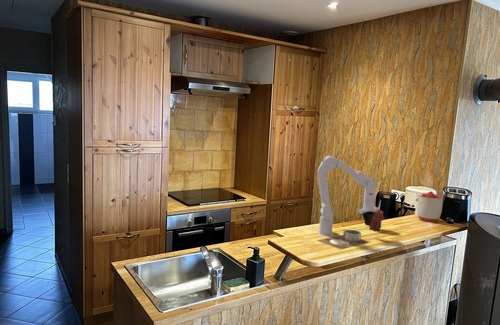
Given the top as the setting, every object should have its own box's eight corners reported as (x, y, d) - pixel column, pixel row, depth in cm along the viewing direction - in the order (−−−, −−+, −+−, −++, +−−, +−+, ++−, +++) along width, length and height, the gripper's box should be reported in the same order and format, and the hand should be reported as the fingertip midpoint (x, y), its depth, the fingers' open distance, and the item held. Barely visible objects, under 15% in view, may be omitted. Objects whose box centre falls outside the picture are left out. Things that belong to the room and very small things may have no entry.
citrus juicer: (419, 215, 265) (422, 188, 263) (445, 221, 252) (448, 192, 249) (409, 218, 255) (411, 189, 253) (434, 224, 242) (437, 194, 240)
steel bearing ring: (350, 236, 205) (351, 228, 204) (364, 240, 197) (364, 233, 197) (339, 238, 199) (340, 231, 199) (353, 243, 192) (353, 235, 192)
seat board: (346, 235, 208) (346, 234, 208) (370, 243, 195) (370, 242, 195) (316, 241, 194) (316, 240, 194) (340, 250, 181) (340, 249, 181)
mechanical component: (386, 231, 219) (372, 232, 217) (376, 226, 229) (362, 227, 226) (388, 211, 218) (373, 211, 215) (378, 207, 228) (364, 207, 225)
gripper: (367, 203, 196) (365, 228, 198) (383, 201, 205) (381, 225, 206) (356, 200, 202) (354, 225, 203) (372, 198, 210) (370, 222, 212)
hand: (367, 224), depth 205 cm, fingers closed
